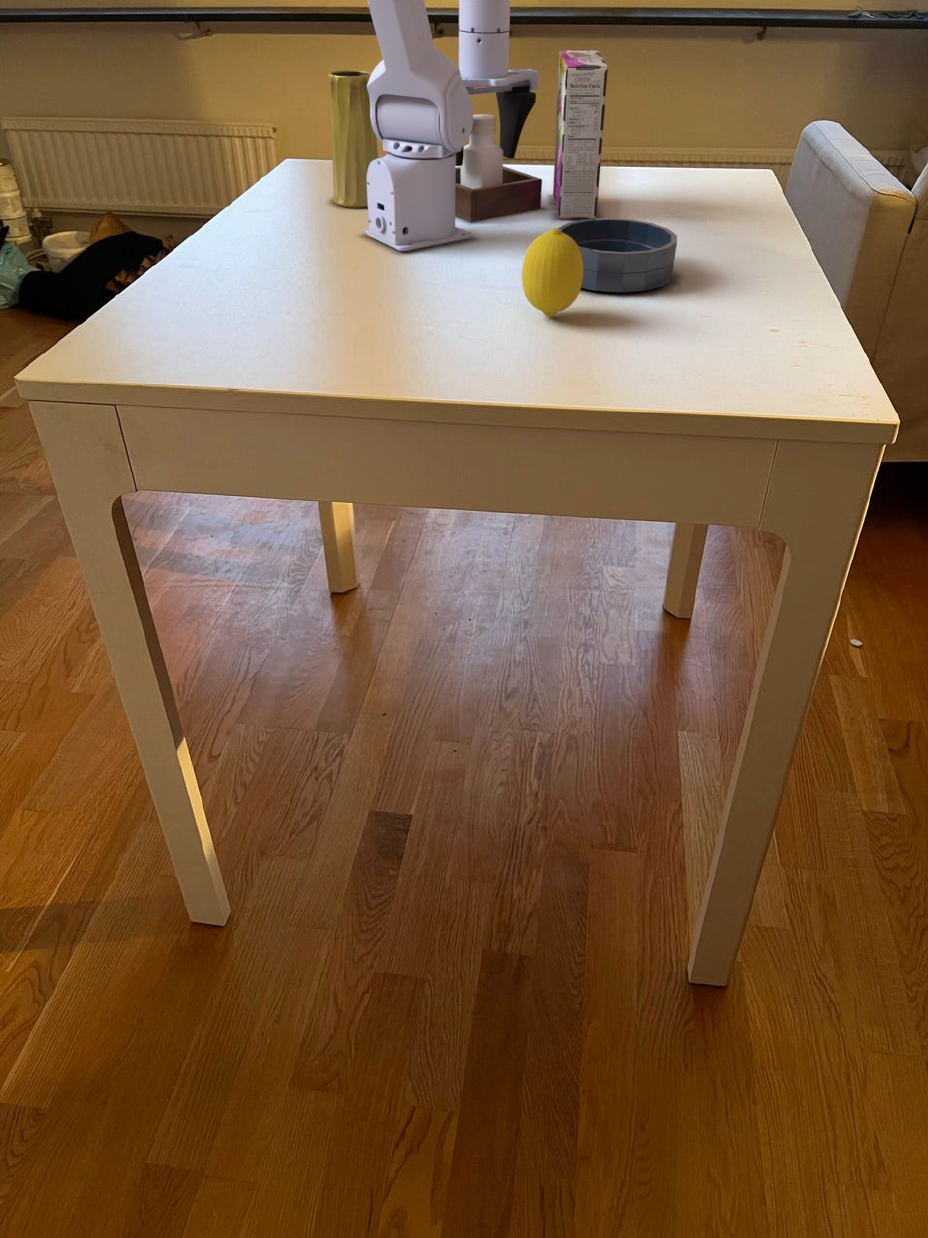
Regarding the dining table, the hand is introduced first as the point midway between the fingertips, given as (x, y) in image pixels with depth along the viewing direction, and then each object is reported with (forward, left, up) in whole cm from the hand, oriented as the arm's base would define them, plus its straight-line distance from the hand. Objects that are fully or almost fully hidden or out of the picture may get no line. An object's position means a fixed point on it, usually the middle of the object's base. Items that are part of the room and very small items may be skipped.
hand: (481, 160), depth 117 cm
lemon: (-17, -35, -5) cm, 39 cm away
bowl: (-4, -29, -5) cm, 30 cm away
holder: (0, 0, -5) cm, 5 cm away
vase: (-12, +10, -5) cm, 17 cm away
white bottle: (0, 0, -5) cm, 5 cm away
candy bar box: (+9, -7, -5) cm, 13 cm away
